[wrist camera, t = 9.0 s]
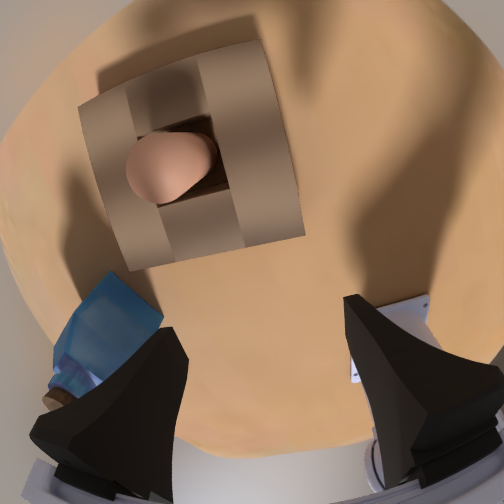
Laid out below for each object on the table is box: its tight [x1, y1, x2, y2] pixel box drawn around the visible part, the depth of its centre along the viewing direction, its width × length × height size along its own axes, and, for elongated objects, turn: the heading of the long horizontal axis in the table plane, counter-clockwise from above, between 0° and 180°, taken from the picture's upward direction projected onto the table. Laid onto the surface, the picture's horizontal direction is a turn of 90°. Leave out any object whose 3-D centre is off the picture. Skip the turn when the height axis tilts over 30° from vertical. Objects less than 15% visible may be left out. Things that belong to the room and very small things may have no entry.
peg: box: [126, 132, 217, 204], centre depth 14 cm, size 3×3×7 cm
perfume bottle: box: [42, 271, 164, 411], centre depth 18 cm, size 6×6×12 cm
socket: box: [78, 39, 305, 272], centre depth 16 cm, size 12×12×3 cm
